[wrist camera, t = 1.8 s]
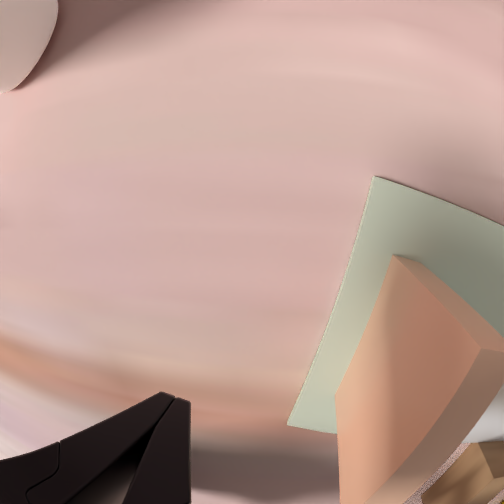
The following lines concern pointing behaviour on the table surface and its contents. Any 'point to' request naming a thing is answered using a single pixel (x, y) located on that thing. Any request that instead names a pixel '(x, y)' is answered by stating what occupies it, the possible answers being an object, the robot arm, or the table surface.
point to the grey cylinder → (23, 37)
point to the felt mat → (374, 270)
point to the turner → (475, 463)
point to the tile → (412, 386)
